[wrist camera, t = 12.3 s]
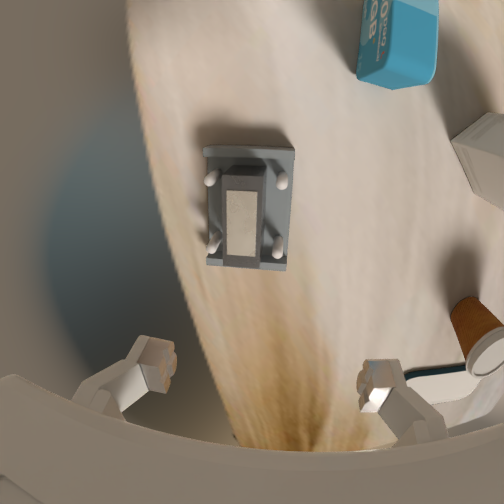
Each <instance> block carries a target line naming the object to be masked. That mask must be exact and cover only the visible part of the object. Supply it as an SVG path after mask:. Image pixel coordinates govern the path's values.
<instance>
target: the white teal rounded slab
mask: <svg viewBox="0 0 504 504" xmlns="http://www.w3.org/2000/svg"><path fill="white" fill-rule="evenodd" d="M404 377H405V380H406V384H407V387H411V388H412V389H413V390H414V391H416V392H417V393H418V394H419V395H420V396H421V397H422V398H423V399H424V400H426V401H427V402H428V403H429V404H430V405H433V404H439V403H444V402H450V401H455V400H459V399H462V398H465V397H467V396H468V395H469V394H471V393H472V392H473V391H474V389H475V388H476V386H477V385H478V384H479V382H480V381H481V379H482V378H481V379H476V378H474V377H473V376H472V375H470V374H468V373H467V371H466V365H463V366H456V367H448V368H440V369H431V370H421V371H414V372H410V373H408V374H405V375H404Z"/></svg>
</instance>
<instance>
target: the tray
mask: <svg viewBox="0 0 504 504" xmlns="http://www.w3.org/2000/svg"><path fill="white" fill-rule="evenodd" d="M203 157H208V175H207V176H206V177H205V178H204V184H205V185H206V186H208V208H209V239H210V241H209V243H208V245H207V247H206V251H207V252H208V253H209V254H208V256H207V257H206V264H207V265H212V266H223V245H222V174H223V173H224V172H226V171H227V170H228V169H229V168H230V167H231V166H232V165H252V166H267V185H266V208H265V231H264V247H263V252H262V258H261V263H260V268H259V269H261V270H274V271H286V265H287V248H288V237H289V224H290V211H291V198H292V183H293V167H294V160H295V149H294V148H287V147H270V146H246V145H209V146H206V147H204V148H203ZM224 267H232V266H224ZM236 268H244V267H236ZM249 269H256V268H249Z"/></svg>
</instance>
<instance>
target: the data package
mask: <svg viewBox="0 0 504 504" xmlns="http://www.w3.org/2000/svg"><path fill="white" fill-rule="evenodd" d="M438 23H439V4H438V0H364V4H363V14H362V25H361V35H360V44H359V53H358V61H357V69H356V76H357V79H358V80H360V81H364V82H368V83H371V84H375V85H378V86H381V87H385V88H388V89H391V90H395V89H401V88H406V87H412V86H418V85H425V84H428V83H429V82H430V81H431V80H432V79H433V77H434V74H435V71H436V62H437V49H438Z"/></svg>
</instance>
